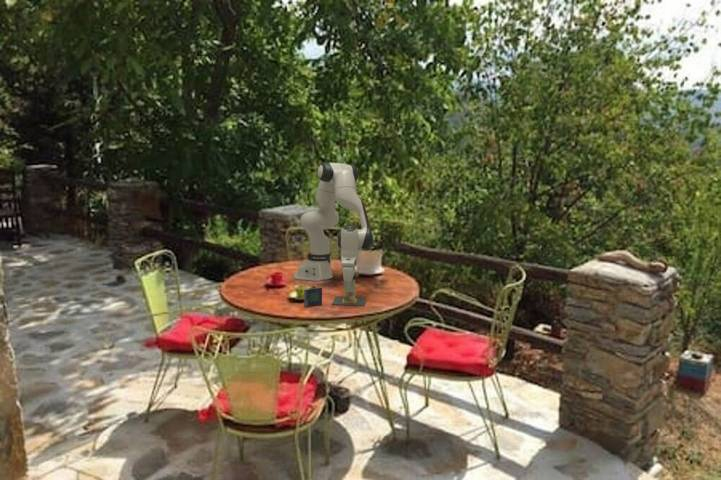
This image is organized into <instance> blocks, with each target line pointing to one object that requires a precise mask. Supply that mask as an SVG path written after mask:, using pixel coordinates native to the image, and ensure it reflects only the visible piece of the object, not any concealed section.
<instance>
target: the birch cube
mask: <svg viewBox="0 0 721 480" xmlns="http://www.w3.org/2000/svg"><path fill="white" fill-rule="evenodd" d="M343 296H344V302H354V301H355V297H356V290H355V291H354V292H344V291H343Z"/></svg>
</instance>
